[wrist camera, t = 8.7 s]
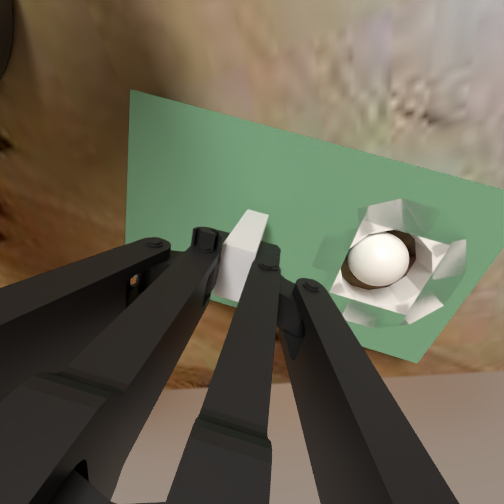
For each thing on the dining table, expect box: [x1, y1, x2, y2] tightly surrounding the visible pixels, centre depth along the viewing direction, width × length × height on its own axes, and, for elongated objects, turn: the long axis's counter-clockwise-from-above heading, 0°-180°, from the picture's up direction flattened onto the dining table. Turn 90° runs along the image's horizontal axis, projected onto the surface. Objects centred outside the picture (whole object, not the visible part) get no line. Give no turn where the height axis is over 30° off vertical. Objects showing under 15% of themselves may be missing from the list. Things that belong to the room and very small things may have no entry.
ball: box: [348, 232, 409, 286], centre depth 18 cm, size 4×4×4 cm
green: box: [125, 89, 504, 363], centre depth 19 cm, size 26×14×2 cm, turn 76°
